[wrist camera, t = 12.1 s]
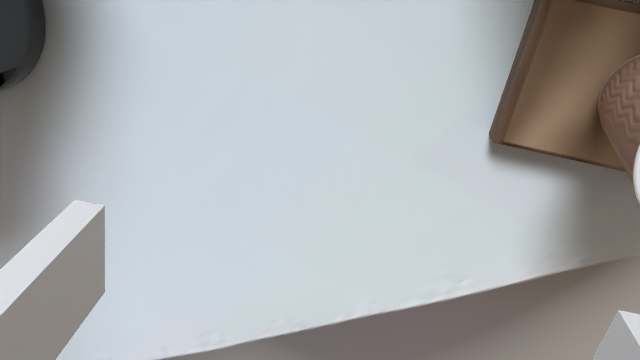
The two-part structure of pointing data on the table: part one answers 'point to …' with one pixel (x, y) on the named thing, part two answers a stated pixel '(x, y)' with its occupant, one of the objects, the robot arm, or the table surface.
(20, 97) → the table surface
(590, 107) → the stand
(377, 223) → the table surface
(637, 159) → the coffee cup
